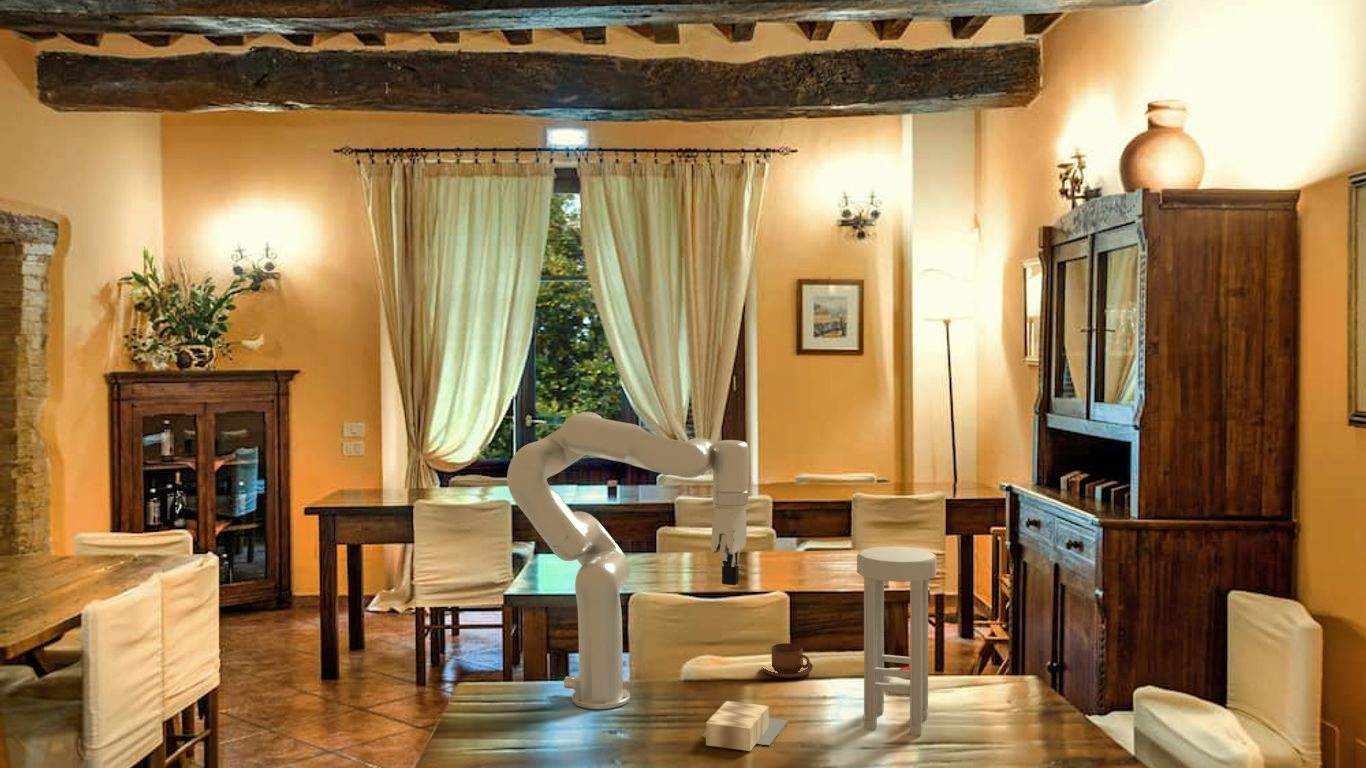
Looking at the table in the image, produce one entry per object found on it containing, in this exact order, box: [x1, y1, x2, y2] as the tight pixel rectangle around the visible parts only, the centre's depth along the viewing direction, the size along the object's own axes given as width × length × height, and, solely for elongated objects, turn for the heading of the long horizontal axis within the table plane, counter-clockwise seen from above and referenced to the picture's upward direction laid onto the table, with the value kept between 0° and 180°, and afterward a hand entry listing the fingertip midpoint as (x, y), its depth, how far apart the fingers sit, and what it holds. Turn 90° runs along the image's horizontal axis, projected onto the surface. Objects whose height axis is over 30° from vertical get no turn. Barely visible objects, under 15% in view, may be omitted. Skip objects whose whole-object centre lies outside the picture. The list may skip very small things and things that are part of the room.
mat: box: [701, 717, 789, 746], centre depth 217 cm, size 14×14×1 cm
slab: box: [705, 700, 770, 752], centre depth 213 cm, size 9×4×13 cm
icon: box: [884, 666, 910, 696], centre depth 243 cm, size 12×4×10 cm
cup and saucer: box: [761, 642, 814, 679], centre depth 252 cm, size 12×12×6 cm
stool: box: [856, 545, 938, 736], centre depth 219 cm, size 16×16×35 cm
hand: (730, 583), depth 229 cm, fingers closed
